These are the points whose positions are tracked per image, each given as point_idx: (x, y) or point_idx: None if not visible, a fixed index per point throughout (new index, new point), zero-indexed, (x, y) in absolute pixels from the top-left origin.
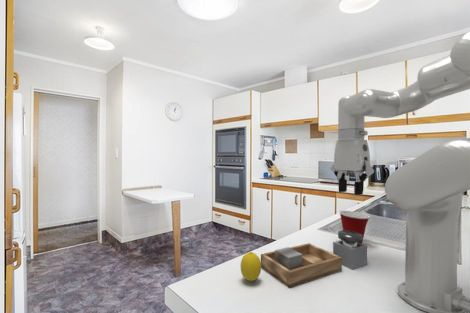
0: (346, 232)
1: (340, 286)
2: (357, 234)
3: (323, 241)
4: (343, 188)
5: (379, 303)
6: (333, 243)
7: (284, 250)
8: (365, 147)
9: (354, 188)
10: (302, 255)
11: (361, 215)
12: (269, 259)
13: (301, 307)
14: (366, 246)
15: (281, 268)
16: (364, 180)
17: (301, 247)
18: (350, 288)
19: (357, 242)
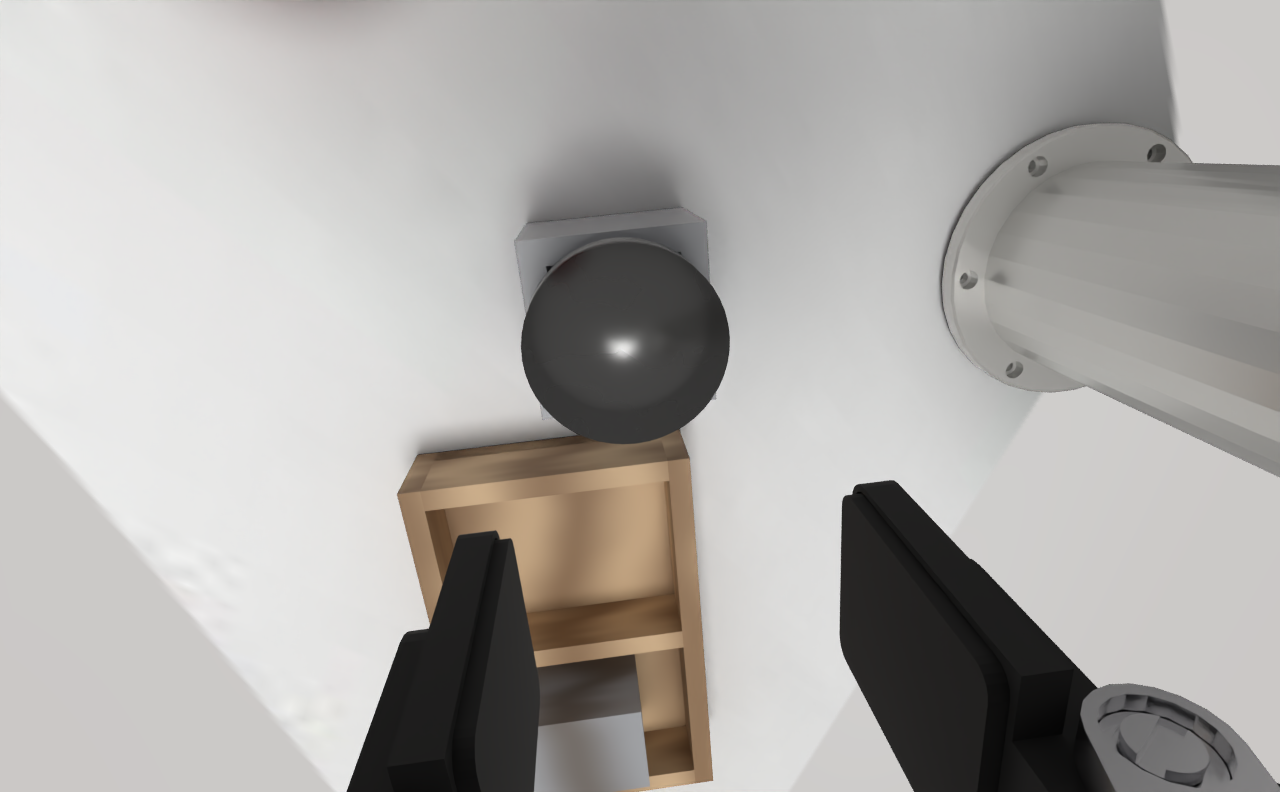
0: (586, 350)
1: (785, 535)
2: (671, 302)
3: (174, 154)
4: (522, 673)
5: (949, 486)
6: (546, 416)
7: (556, 767)
8: None
9: (892, 740)
10: (453, 534)
11: None
12: None
13: (817, 738)
14: (706, 230)
15: (656, 785)
16: (1193, 739)
17: (441, 570)
18: (818, 508)
19: (619, 234)
